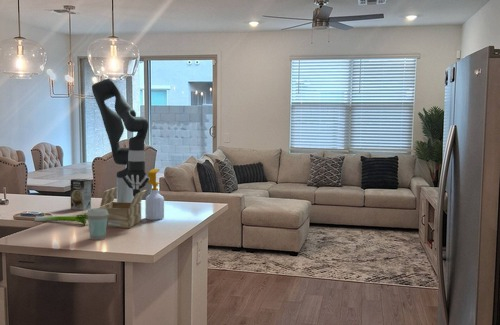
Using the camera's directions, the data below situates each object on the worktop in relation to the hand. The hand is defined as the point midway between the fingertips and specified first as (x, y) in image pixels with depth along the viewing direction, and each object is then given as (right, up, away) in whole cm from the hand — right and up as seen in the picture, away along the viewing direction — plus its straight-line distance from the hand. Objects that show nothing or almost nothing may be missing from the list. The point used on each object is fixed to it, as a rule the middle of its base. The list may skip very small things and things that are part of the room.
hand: (136, 197), depth 234 cm
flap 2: (-1, -4, +1) cm, 4 cm away
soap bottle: (+5, -12, +17) cm, 22 cm away
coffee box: (-39, -9, +39) cm, 56 cm away
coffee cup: (-10, -15, -26) cm, 32 cm away
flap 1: (-14, -3, +2) cm, 15 cm away
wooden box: (-8, -13, +2) cm, 15 cm away
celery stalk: (-35, -13, +3) cm, 37 cm away
